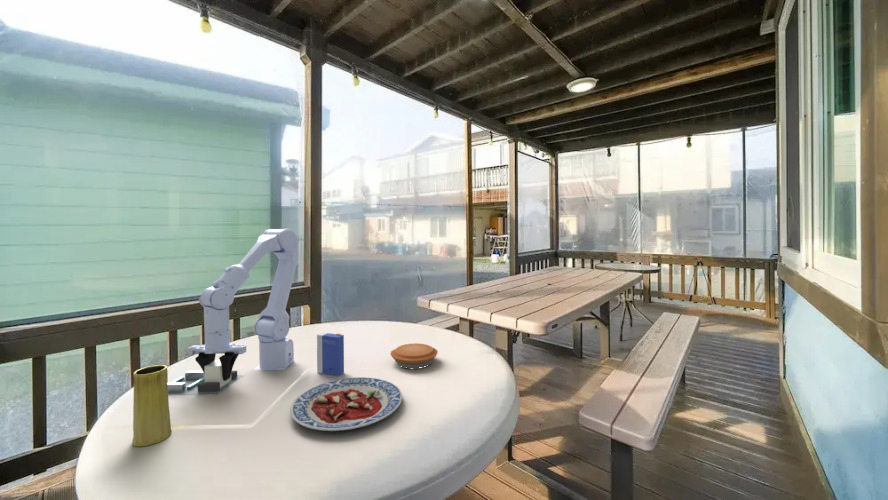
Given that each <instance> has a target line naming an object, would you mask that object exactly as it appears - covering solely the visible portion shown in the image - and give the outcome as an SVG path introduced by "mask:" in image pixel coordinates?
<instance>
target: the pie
mask: <svg viewBox="0 0 888 500" xmlns="http://www.w3.org/2000/svg"><path fill="white" fill-rule="evenodd" d="M438 353H439V351H438V350H437V349H436V348H435V347H434V346H431V345H429V344H426V343H415V342H414V343H407V344H402V345H400V346H398V347H395V348H394V349H393V350H391V351H390V353H389V354H390V357H392V359H394V362H395V363H396V365H397V366H398V365H399V367H400V366H402V367H407V368H419V367H424V366H427V365H429V364H430V365H431V364H432V363H433V361H434V360H435V358H436V357H437V355H438ZM430 365H429V366H430ZM402 367H401V368H402ZM427 367H428V366H427Z"/></svg>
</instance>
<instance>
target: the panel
mask: <svg viewBox="0 0 888 500" xmlns="http://www.w3.org/2000/svg"><path fill="white" fill-rule="evenodd" d="M243 377H244V375H242V374H241V375H240V374H239V375H238V374H237V378H236V379H231V381H230V382H228V383H227V384H225V385H224V386H223V387H221V388H220V390H219V391H217V392H198V385H197V386H195V387H194V388H192V389H190V390H187V386H189V385H191V384H192V383H194V382H196V381H198V380H199V379H191V380H185V377H184V380H182V381H181V382H179V383H182V382H186V390H185V391H183V392H168V396H173V395H174V396H185V395H187V396H188V395H193V396H194V395H197V396H198V395H199V396H200V395H211V396H213V395H219V394H220V393H221V392H223V391H224V390H226V389H227V388H228V387H229V386H232V384H234V383H236V382H237V381H238V380H239V379H241V378H243ZM203 382H205V381H203Z"/></svg>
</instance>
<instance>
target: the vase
mask: <svg viewBox="0 0 888 500" xmlns="http://www.w3.org/2000/svg"><path fill="white" fill-rule="evenodd" d="M132 374H133V405H132V406H133V415H132V417H133V419H132V431H133V435H132V443H131V444H132V446H134V447H139V448H140V447H148V446H151V445H155V444H157V443H161V442H162V441H165V440H166V439H167V438H168V437H170V436H171V434H172V424H171V414H170V403H169V395H168V383H169V382H168V381H169V379H168V376H169V375H168V374H169V372H168V366H167V365H164V364H158V365H150V366H145V367H142V368H140V369H136V370H134V372H133V373H132Z"/></svg>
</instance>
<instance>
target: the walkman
mask: <svg viewBox="0 0 888 500" xmlns="http://www.w3.org/2000/svg"><path fill="white" fill-rule="evenodd" d="M344 340H345V337H344V334H341V333H340V332H339V333H330V332H320V333H318V334H316V373H319V374H324V375H330V376H331V375H332V376H338V377H340V376H341V375H342V374H344V373H345V346H344V345H345V341H344Z"/></svg>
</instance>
